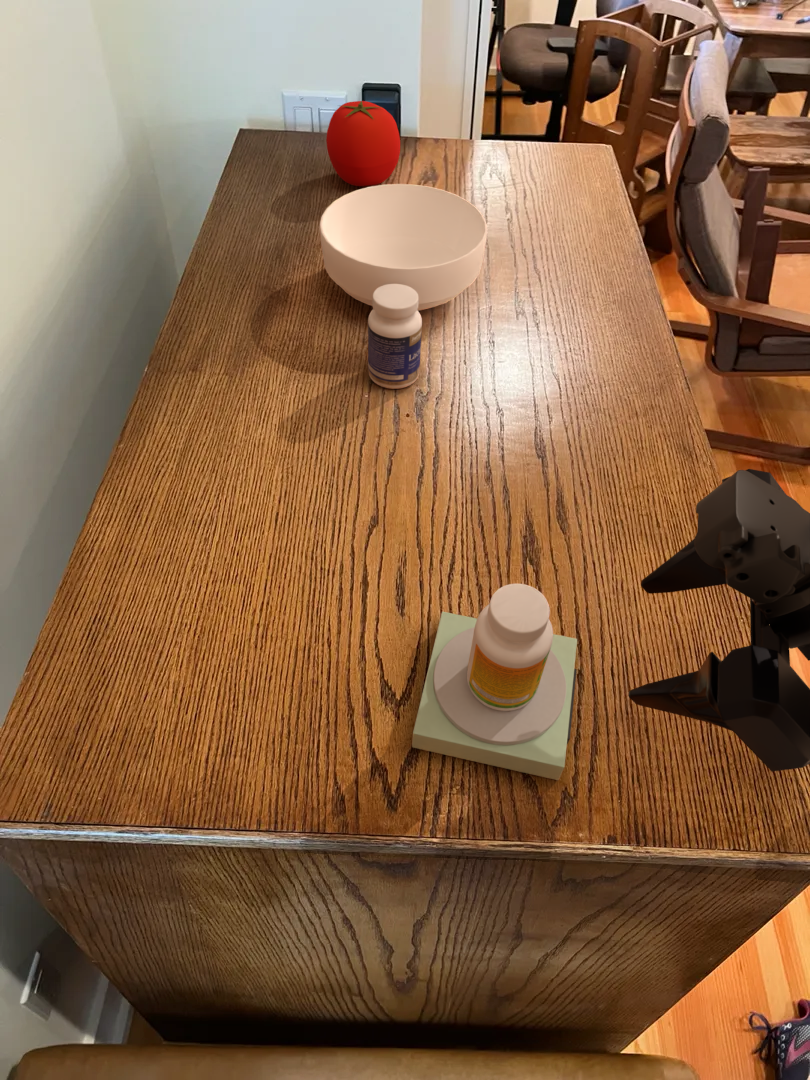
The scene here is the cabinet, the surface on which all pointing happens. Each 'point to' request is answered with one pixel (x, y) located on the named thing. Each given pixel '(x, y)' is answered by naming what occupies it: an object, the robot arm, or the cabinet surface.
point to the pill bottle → (394, 336)
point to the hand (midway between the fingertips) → (638, 639)
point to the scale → (490, 734)
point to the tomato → (363, 143)
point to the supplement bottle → (510, 647)
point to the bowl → (403, 242)
